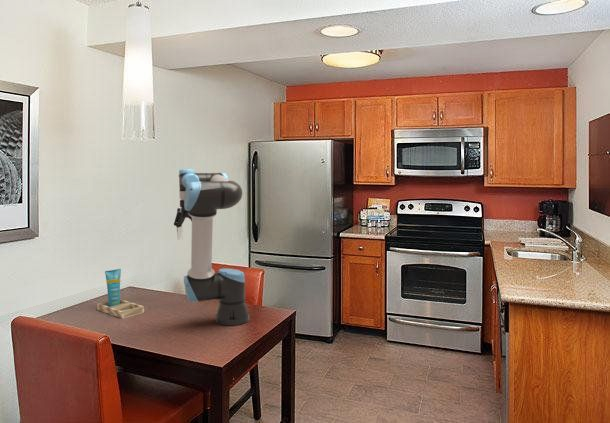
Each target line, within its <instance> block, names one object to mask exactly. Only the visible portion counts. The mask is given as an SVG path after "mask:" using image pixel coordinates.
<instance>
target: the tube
mask: <svg viewBox="0 0 610 423" xmlns="http://www.w3.org/2000/svg"><path fill="white" fill-rule="evenodd" d="M121 271H122V268H117V269H111V270H105V271H104V274H105V279H106V280H105V281H106V289H107V299H108V300H107V301H108V302H109V307H111V306H115V305H119V304H120V299H121V298H120V297H121V274H122V272H121Z"/></svg>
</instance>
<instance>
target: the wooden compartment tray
mask: <svg viewBox="0 0 610 423" xmlns="http://www.w3.org/2000/svg"><path fill="white" fill-rule="evenodd" d="M96 307H97V308H96V309H97V311H99V312H102V313H105V314H108V315H110V316H114V317H116V318H118V319H121V320H122V319H126V318H129V317H130V318H131V317H133V316H137V315H140V314H143V313H145V306H144V305H142V304H141V305H140V304H138V303H134V302H131V301H127V300H124V299H122V298H120V304H119V305H115V306H111V307H109V302H108V300H107V301H103V302H99V303H97V305H96Z"/></svg>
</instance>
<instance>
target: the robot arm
mask: <svg viewBox="0 0 610 423" xmlns="http://www.w3.org/2000/svg"><path fill="white" fill-rule="evenodd" d="M178 181H179V183H178V184H179V186H178V187H179V207H180V208H179V207H177V210H176V215H175V218H174V222H173V226H174V227H176V233H177V234H176V235H177V240H178V241H180V240H183V239H184V238H183V237H184V236H183V232H184V231H183V223H184V221H185V220H186V219H187V218H188V219H189V220H190V221H191V256H190V259H191V260H190V269H188V271H187V275H184V276H183V284H184V285H183V286H184V289H185V294H186V297H187V299H186V300H188V302H189V303H199V302H208V301H209V302H210V301H216V300H218V307H217V311H216V314H215V323H217V324H218V325H221V326H239V325H243V324H246V323H247V322H249V321H250V312H248V308H247V305H246V279H245V273H244V272H243V271H241V270H239V269H234V268H219V269H218V271H217V273H216V272H215V270H214V269H213V268H212V258H213V257H212V256H213V228H214V227H213V223H214V222H213V221H214V220H213V218H215V216H217V211H218V210H226V209H230V208H233V207H235V206H236V205H237V204H238V203H239V202H240V201H241V199H242V197H243V189H242V186H241V185H240V184H239V183H237V182H236V181H234V180H229V176H228V174H227V173H225V172H209V173H208V172H195V170H194V169H193V168H180V169H179V170H178Z"/></svg>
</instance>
